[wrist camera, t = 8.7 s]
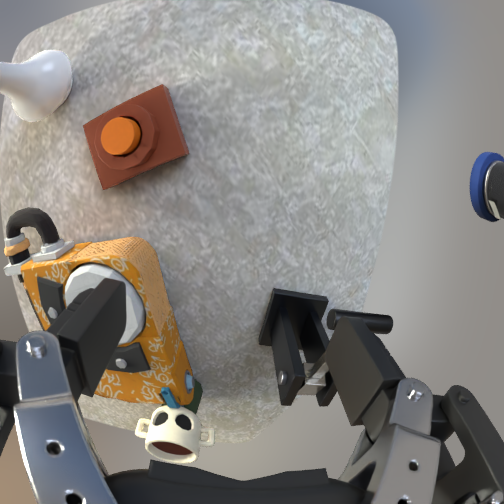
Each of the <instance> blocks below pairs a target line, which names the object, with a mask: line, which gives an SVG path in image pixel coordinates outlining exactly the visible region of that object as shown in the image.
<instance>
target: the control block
mask: <svg viewBox="0 0 504 504" xmlns="http://www.w3.org/2000/svg"><path fill="white" fill-rule="evenodd" d="M117 117H123V118H127V119H131V120H133V121H135V122H136V123H137V124H138V126H139V128H140V132H141V137H140V141H139V143H138V145H137V147H136V148H135V149H134V150H133V151H132V152H130V153H128V154H122V155H113V154H110V153H108V152H107V151H106V150H105V149H104V148H103V146H102V143H101V134H102V131H103V128H104V127H105V125H106V124H107V123H108V122H109V121H110V120H112V119H114V118H117ZM83 128H84V131H85V135H86V138H87V142H88V145H89V149H90V152H91V155H92V158H93V162H94V165H95V168H96V171H97V174H98V177H99V180H100V183H101V185H102V188H103V190H105V189H108V188H111V187H114V186H116V185H118V184H120V183H122V182H124V181H126V180H128V179H130V178H133V177H135V176H137V175H139V174H141V173H144V172H146V171H148V170H151V169H153V168H155V167H158V166H160V165H162V164H165V163H167V162H170V161H172V160H175V159H177V158H180V157H182V156H185V155H187V154H189V151H188V148H187V145H186V142H185V139H184V136H183V133H182V130H181V127H180V124H179V121H178V118H177V115H176V112H175V109H174V106H173V103H172V100H171V96H170V93H169V90H168V88H166V87H165V86H164V85H163V84H162V85H160V86H157V87H155V88H153V89H151V90H148V91H146V92H144V93H142V94H140V95H138V96H136V97H134V98H132V99H130V100H128V101H126V102H124V103H122V104H120V105H118V106H116V107H114V108H112V109H111V110H109V111H107V112H105V113H103V114H102V115H100V116H98V117H96V118H95V119H93V120H91V121H90V122H88V123H86V124H85V125H83Z"/></svg>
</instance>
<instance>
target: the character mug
mask: <svg viewBox="0 0 504 504" xmlns="http://www.w3.org/2000/svg"><path fill="white" fill-rule="evenodd" d="M194 381H195V386H194V394H193V399H192V401H191V403H190V404H187V405H184V407H181V406H180V408H169V407H168V405H167V404H162V406H161V407H159V408H157V409H156V411H155V412H154V413H153V414H152V417H151V420H149V419H143V418H142V419H139V421H138V424H137V427H136V431H135V435H136V436H138V437H141V438H146V441H145V448H146V450H147V451H148V452H149V453H150V454H152V455H153V456H155V457H157V458H159V459H162V460H164V461H168V462H172V463H182V464H185V463H192V462H194V461H196V460H197V459H198V456H199V449H200V446H203V447H212V446H214V444H215V429H214V428H211V427H202V424H201V422H200V420H199V418H198V416H197V415H196V413H197V410H198V407H199V404H200V400H201V397H202V393H203V390H202V387H201V384H200V383H199V382H198V381H197V380H195V379H194ZM144 425H148V426H149V429H148V433H147V432H142V430H143V427H144ZM201 433H208V440H200V439H201Z"/></svg>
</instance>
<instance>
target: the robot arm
mask: <svg viewBox="0 0 504 504" xmlns="http://www.w3.org/2000/svg"><path fill="white" fill-rule="evenodd" d="M482 194H483V201H484V205H485V207H486V209H487V211H488V212H489V213H490V214H492V215H494V216H495V217H496V218H498V219H501V218H503V219H504V162H502V161H497V160H495V161H492V162H491V163H490V164H489V165H488V167H487V169H486V171H485V174H484V178H483V185H482ZM500 217H501V218H500ZM126 322H127V312H126V284H125V282H124V281H119V280H115V279H110V278H104V279H103V280H102V281H101V282H100V283H99V284H98V285H97V286H96V288H95V289H94V288H89V289H87V290H85V291H83V292H81V293H79V294H78V295H77V296H76V297H75V298H74V299H73V301H72V303H70V304H69V305H68V306H67V307H66V309H64V310H63V312H62V313H61V314H60V315H59V316H58V317H57V318H56V320H55V321H54V322H53V323H52V324H51V325H50V327H49V328H48V329H47V330H46V331H32V332H29V333H27V334H25V335H24V336H22V337H21V338H20V339H19V341H18V342H12V341H6V340H0V456H1V453H2V451H3V448H4V446H5V443H6V441H7V439H8V436H9V434H10V431H11V430H12V427H13V425H14V423H16V429H17V435H18V440H19V444H20V449H21V453H22V457H23V461H24V465H25V468H26V471H27V474H28V478H29V482H30V485H31V488H32V490H33V493H34V496H35V499H36V501H37V504H504V442H503V440H502V439H501V437H500V435H499V434H498V432H497V430H496V429H495V427H494V426H493V424H492V423H491V421H490V419H489V418H488V416H487V415H486V413H485V412H484V410H483V409H482V407H481V406H480V404H479V403H478V401H477V400H476V398H475V397H474V396H473V394H472V393H471V392H470V391H469V390H468V389H466V388H464V387H462V386H459V385H454V386H452V387H451V388H450V389H449V390H448V392H447V393H446V394H445V395H444V396H440V395H433V394H432V392H431V390H430V389H429V388H428V386H427V385H426V384H424V383H423V382H421V381H419V380H417V379H414V378H406V377H405V375H404V374H403V372H402V371H401V370H400V368H399V366H398V365H397V363H396V362H395V360H394V359H393V357H392V356H390V353H389V351H388V350H387V349H385V346H384V344H383V343H382V341H381V340H380V338H378V337H377V336H376V335H375V334H374V333H372V332H371V331H370V330H369V328H368V327H367V326H366V324H365V323H364V321H363V320H362V319H361V318H358V317H347V316H342V317H341V318H340V319H339V321H338V323H337V325H336V328H335V330H334V333H333V335H332V337H331V339H330V342H329V344H328V346H327V349H326V354H325V359H326V364H327V366H328V369H329V371H330V374H331V376H332V379H333V381H334V384H335V386H336V389H337V391H338V394H339V396H340V399H341V401H342V404H343V406H344V409H345V412H346V414H347V417H348V419H349V422H350V424H351V426H356V425H364V426H365V429H364V430H363V431H362V433H361V435H360V437H359V439H358V442H357V444H356V446H355V449H354V451H353V454H352V455H351V458H350V460H349V462H348V464H347V466H346V468H345V470H344V472H343V473H342V474H341V476H340V477H339V478H338V479H332V478H328V476H327V472H326V469H325V468H323V469H315V470H302V471H287V472H283V473H279V474H275V475H271V476H267V477H262V478H257V479H252V480H247V481H240V480H235V479H232V478H228V477H224V476H221V475H217V474H214V473H211V472H208V471H204V470H201V469H198V468H195V467H188V466H182V465H176V464H170V463H165V462H160V461H155V460H150V466H149V469H137V470H128V471H122V472H118V473H115V474H112V475H109V474H108V472H107V470H106V468H105V466H104V464H103V462H102V460H101V458H100V456H99V454H98V452H97V450H96V448H95V445H94V443H93V441H92V438H91V436H90V434H89V431H88V428H87V426H86V423H85V421H84V418H83V415H82V412H81V410H80V407H79V404H78V399H79V397H80V395H81V393H82V394H84V395H87V396H90V397H93V395H94V393H95V391H96V389H97V386H98V384H99V382H100V380H101V378H102V376H103V374H104V372H105V370H106V368H107V366H108V364H109V362H110V360H111V358H112V356H113V354H114V352H115V350H116V348H117V346H118V344H119V342H120V340H121V338H122V336H123V334H124V332H125V328H126ZM454 431H455V432H456V434H457V436H458V438H459V440H460V442H461V443H462V445H463V447H464V449H465V457H464V459H463V461H462V462H461V463H460V464H459V465H457V466H455V464H454V462H453V460H452V458H451V456H450V453H449V451H448V450H447V447H446V445H445V443H444V442H445V441H446V439H448V438H449V437H450V436H451V435H452V434H453V432H454Z"/></svg>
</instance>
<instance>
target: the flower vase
mask: <svg viewBox="0 0 504 504" xmlns="http://www.w3.org/2000/svg"><path fill="white" fill-rule="evenodd" d="M72 84H73V76H72V65H71V62H70V59H69V57H68V56H67V55H66V54H65V53H64V52H62V51H59V50H45V51H43V52H40V53H38V54H36V55H34V56H33V57H31V58H30V59H29V60H27V61H25V62H22V63H6V62H0V93H1V94H3V95H6V96H7V97H8V98H9V99H10V100H11V104H12V107H13V110H14V111H15V113H16V115H17V116H18V117H20V118H21V119H23V120H24V121H28V122H37V121H41V120H43V119H45V118H46V117H48V116H50V115H51V114H52V113H53V112H54V111H55V110H56V109H57V108H58V107H59V106H61V105H62V104H63V103H64V101H65V100H66V99H67V97H68V95H69V93H70V91H71V88H72Z"/></svg>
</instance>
